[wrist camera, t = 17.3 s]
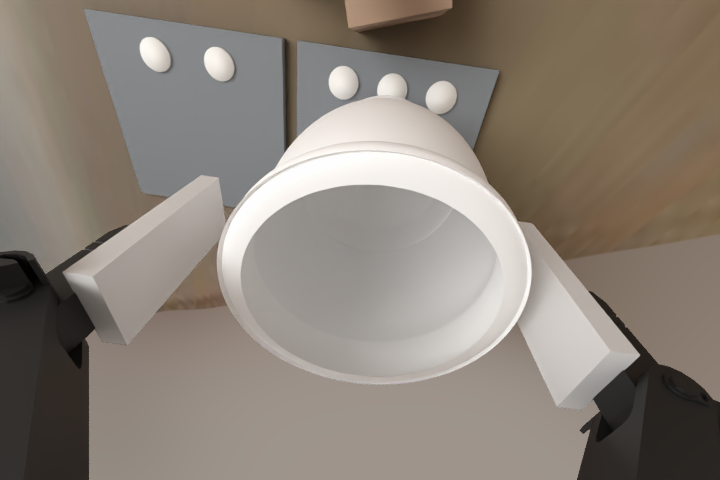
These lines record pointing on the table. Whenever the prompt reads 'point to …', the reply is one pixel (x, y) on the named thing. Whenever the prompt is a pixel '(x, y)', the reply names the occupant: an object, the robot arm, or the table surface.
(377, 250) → the jar
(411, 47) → the table surface
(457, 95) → the pad three
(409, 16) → the walnut block
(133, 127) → the pad two
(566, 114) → the table surface
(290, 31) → the table surface
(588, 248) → the table surface
